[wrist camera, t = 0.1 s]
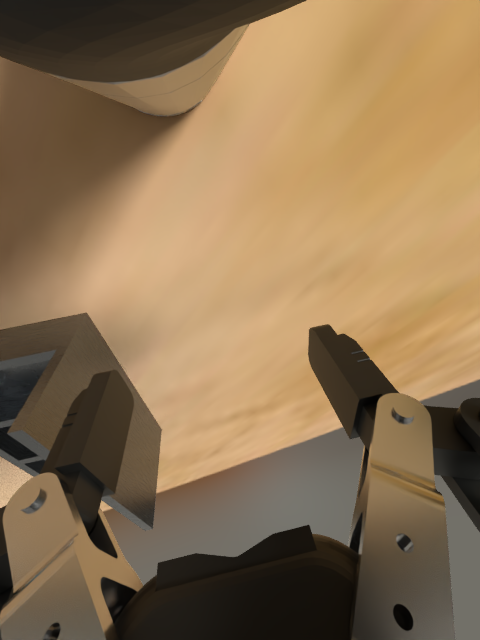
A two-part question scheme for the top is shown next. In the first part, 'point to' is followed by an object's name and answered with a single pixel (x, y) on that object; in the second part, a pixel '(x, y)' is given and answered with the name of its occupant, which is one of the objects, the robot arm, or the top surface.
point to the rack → (56, 398)
